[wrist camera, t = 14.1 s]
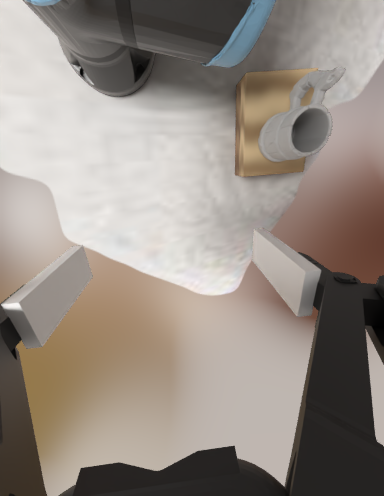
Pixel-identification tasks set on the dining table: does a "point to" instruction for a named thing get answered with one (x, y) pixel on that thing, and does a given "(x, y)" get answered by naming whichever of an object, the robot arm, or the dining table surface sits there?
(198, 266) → the dining table surface
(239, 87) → the wooden block
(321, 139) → the mug
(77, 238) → the dining table surface
